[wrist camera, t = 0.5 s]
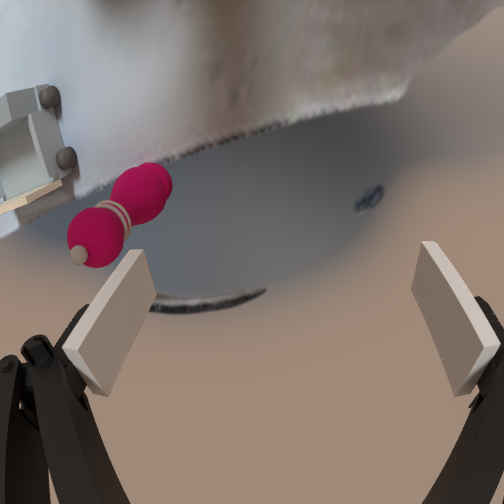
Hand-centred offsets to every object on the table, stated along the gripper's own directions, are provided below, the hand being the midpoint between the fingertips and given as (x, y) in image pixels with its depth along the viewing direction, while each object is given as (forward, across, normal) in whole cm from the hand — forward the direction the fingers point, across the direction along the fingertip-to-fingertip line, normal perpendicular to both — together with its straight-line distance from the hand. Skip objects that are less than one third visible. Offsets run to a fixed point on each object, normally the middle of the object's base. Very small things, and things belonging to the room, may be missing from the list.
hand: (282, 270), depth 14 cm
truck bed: (+27, -40, +6) cm, 49 cm away
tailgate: (+24, -40, -2) cm, 46 cm away
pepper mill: (+28, -18, -4) cm, 33 cm away
